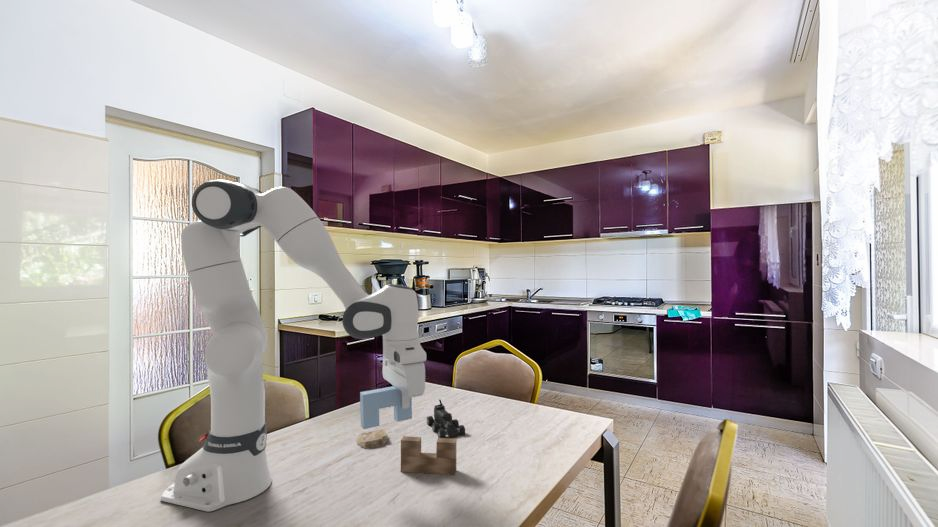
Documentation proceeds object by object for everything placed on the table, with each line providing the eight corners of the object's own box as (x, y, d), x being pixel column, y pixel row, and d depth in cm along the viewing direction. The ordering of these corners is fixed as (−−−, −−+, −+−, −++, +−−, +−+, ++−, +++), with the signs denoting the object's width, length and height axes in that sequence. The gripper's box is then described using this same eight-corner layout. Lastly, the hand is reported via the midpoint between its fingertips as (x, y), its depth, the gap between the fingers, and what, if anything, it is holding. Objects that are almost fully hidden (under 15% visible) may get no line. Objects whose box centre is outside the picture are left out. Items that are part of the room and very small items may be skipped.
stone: (358, 450, 115) (358, 441, 115) (355, 441, 121) (355, 433, 121) (388, 445, 119) (389, 436, 119) (384, 436, 125) (384, 428, 125)
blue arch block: (363, 429, 94) (362, 395, 94) (360, 425, 96) (360, 392, 96) (411, 418, 99) (411, 386, 100) (408, 415, 102) (407, 383, 102)
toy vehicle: (449, 421, 138) (448, 396, 139) (465, 436, 125) (465, 408, 125) (426, 425, 135) (425, 399, 136) (440, 441, 121) (440, 411, 122)
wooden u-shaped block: (400, 471, 102) (400, 440, 103) (403, 467, 105) (403, 436, 105) (455, 474, 101) (455, 442, 101) (456, 469, 103) (456, 438, 104)
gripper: (376, 344, 107) (377, 396, 107) (403, 358, 89) (404, 421, 89) (398, 341, 110) (399, 392, 110) (429, 355, 93) (430, 415, 92)
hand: (402, 405), depth 100 cm, fingers closed on blue arch block, 2 cm apart
